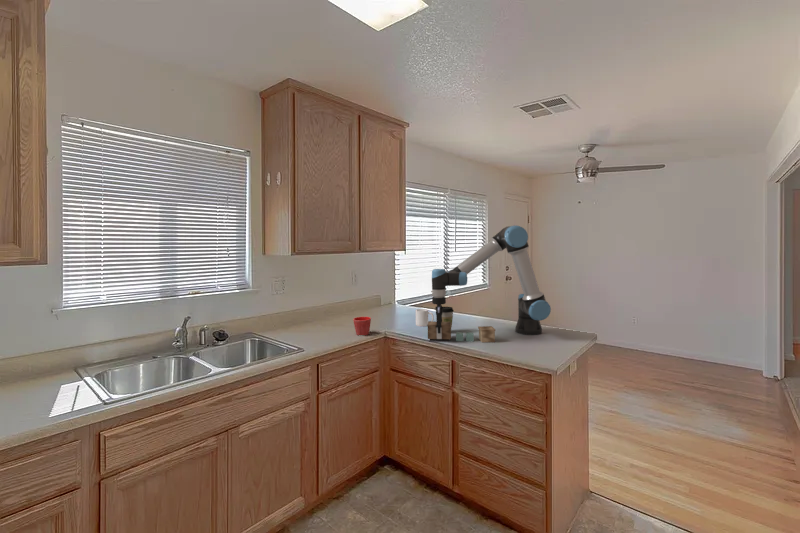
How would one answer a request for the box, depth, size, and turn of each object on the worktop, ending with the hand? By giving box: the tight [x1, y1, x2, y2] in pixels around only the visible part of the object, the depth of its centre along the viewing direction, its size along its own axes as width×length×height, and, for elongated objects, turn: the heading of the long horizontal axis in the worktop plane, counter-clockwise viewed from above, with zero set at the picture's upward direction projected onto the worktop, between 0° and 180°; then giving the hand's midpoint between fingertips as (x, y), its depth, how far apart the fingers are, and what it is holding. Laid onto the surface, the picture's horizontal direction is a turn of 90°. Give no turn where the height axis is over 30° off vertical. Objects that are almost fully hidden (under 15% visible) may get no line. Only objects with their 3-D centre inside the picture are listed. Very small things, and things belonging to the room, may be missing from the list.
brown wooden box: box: [427, 321, 452, 340], centre depth 214 cm, size 13×8×9 cm, turn 81°
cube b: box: [455, 331, 464, 342], centre depth 213 cm, size 4×4×4 cm
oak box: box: [477, 325, 496, 343], centre depth 211 cm, size 8×8×7 cm
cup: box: [415, 308, 435, 328], centre depth 251 cm, size 8×12×10 cm
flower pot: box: [352, 316, 372, 336], centre depth 231 cm, size 11×11×10 cm
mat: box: [428, 339, 450, 343], centre depth 215 cm, size 11×9×1 cm
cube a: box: [465, 331, 475, 342], centre depth 212 cm, size 4×4×4 cm
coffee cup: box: [442, 306, 454, 328], centre depth 231 cm, size 10×10×15 cm
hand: (439, 336), depth 215 cm, fingers closed on brown wooden box, 8 cm apart
